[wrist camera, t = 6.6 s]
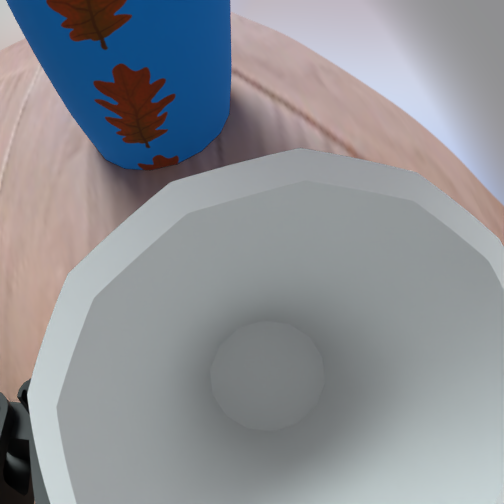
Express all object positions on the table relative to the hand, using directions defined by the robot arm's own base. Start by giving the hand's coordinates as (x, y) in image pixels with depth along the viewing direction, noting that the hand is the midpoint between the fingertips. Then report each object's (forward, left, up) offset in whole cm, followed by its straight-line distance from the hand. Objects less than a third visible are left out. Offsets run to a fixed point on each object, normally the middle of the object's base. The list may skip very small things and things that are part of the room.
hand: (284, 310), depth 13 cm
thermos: (-16, +4, -5) cm, 17 cm away
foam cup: (+2, -2, -5) cm, 6 cm away
